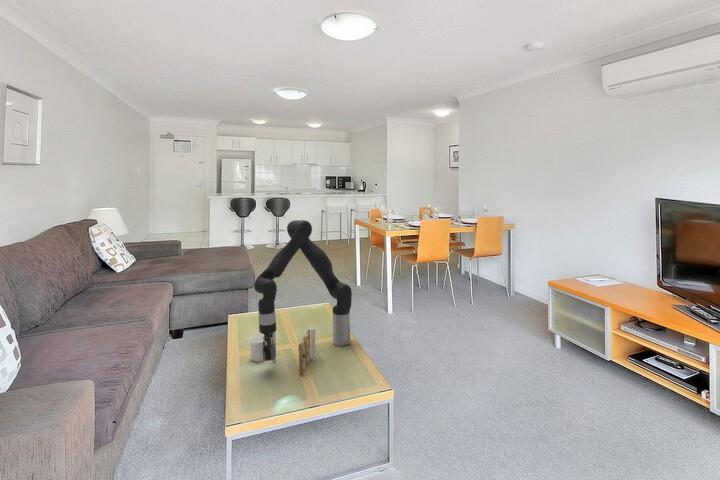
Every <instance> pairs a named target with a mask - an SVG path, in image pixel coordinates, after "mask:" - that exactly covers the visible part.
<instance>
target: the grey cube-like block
mask: <svg viewBox="0 0 720 480" xmlns="http://www.w3.org/2000/svg"><path fill="white" fill-rule="evenodd" d="M269 345H270V344H269ZM266 350H267V349H266ZM262 352H263V361H262V362H265V361H268V362H269V361H271V362H272V360H275V357H276V358H277V346H276V347H275V343H272V346H271V359H270V360H266V354H265V353H264V348H262Z"/></svg>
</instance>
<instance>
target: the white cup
mask: <svg viewBox="0 0 720 480" xmlns="http://www.w3.org/2000/svg"><path fill="white" fill-rule="evenodd" d="M263 337H264V335H262V336H261V335H260V336H254V337H253V336H252V338H250V339H249V344H250V353H251V354H250V355H251V360H252V361H253V362H256V363H257V362H264V361H263V352H262V348H263V341H264V340H263Z"/></svg>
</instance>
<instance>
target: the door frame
mask: <svg viewBox="0 0 720 480" xmlns="http://www.w3.org/2000/svg"><path fill="white" fill-rule="evenodd" d="M276 333H277V331H275V332H274V333H273V339H274V342H273V343H275V347H276V348H277V337H276V335H277V334H276ZM316 347H317V346H316V327H312V326H311V327H310V352H311V359H310V361H316V359H317V357H316V356H317V355H316V353H317V351H316ZM271 362H277V356H276V357H275V360H271Z"/></svg>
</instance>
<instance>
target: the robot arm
mask: <svg viewBox="0 0 720 480" xmlns="http://www.w3.org/2000/svg"><path fill="white" fill-rule="evenodd" d="M286 231H287V233H288V236H289V238H290V240H289V241H288V243H287V244H286V245H285V246H283V248H281V249H280V250H279V251H278V252H277V253H276V254H275V256H274V257H273V259H272V260H271V262H270V263H269V265H268V266H267V268H265V269H264V271H262V272H261V273H260V275H259V276H258V277H257V278H256V279H255V281H254V284H253V288H254V291H255V292H256V293H259V294H262V298H261V299H259V301H258V303H257V305H258V329H259V330H258V331H259V333H260V334H262V335H263V340H264V341H263V348H264V353H265V354H266V360H270V359H271V346H272V343H273V342H274V339H273V333H274V332H277V318H276V317H277V316H276V311H275V310H276V309H275V308H276V307H275V300H276V296H277V291H278V287H277V283H276V282H275V280H274V279H275V278H280V277H281V276H282V274H283V273H284V272H285V270H286V268H287V266H288V265H289V263H290V262H291V260H292V259H293V257H294V256H295V254H297V252H298V251H299V250H301V252H302V254H303V255H304V257H305V258H306V259H307V261H308V263H309V264H310V265H311V268H313V270H314V271H315V272H316V274H317V275H318V276H319V278H320V280H322V282H323V284H324V286H325V288H326V289H327V290H328V294H329V295H330V296H331V297H332V298H333V299H335V300H336V305H334V306H333V307H332V344H333V345H334V344H335V346H337V345H339V346H338V347H344V346H343V345H346V346H348V345H347V344H350V345H351V320H350V319H351V317H350V316H351V313H350V312H351V307H352V297H353V292H352V288H351V286H350V285H349V284H346V283H343V282H341V281H340V280H339V279H338V277H337V276H336V275H335V273H334V271H333V264H332V261H331V259H330V258H329V257H328V255H327V254H326V252H325V251H324V250H323V249H322V248H321V247H319V246H318V245H317V244H316V243H314V242H313V241H312V240H311V238H310V236H311V235H312V232H313V227H312V224H311V222H309V221H308V220H306V219H305V220H303V219H302V220H301V219H300V220H297V219H295V220H291V221H289V222H288V224H287V226H286ZM269 344H270V345H269ZM266 349H267V350H266Z"/></svg>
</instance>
